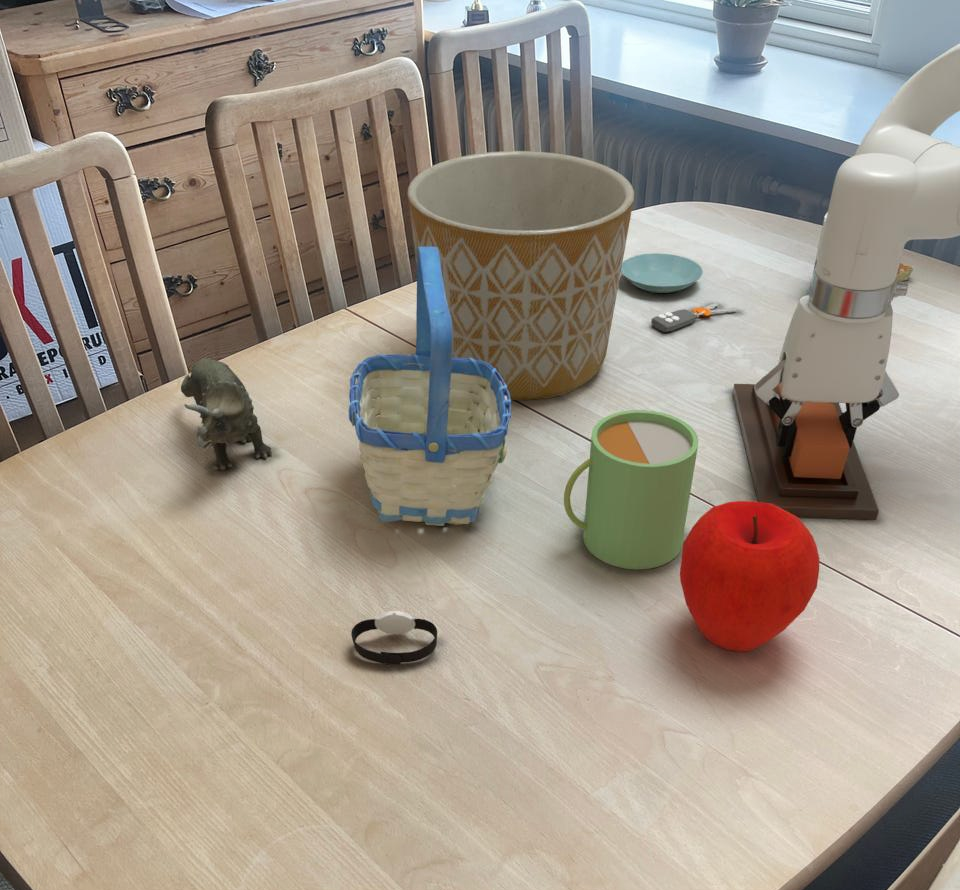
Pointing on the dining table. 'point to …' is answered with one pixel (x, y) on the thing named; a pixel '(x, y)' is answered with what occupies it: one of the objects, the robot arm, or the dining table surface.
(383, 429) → the basket
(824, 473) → the block
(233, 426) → the toy dinosaur
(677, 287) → the saucer
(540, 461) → the dining table surface
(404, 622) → the watch
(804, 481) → the board
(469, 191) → the planter
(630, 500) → the mug
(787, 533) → the apple
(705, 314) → the key chain
